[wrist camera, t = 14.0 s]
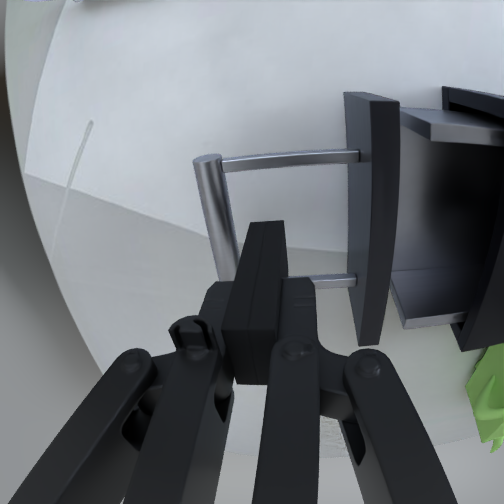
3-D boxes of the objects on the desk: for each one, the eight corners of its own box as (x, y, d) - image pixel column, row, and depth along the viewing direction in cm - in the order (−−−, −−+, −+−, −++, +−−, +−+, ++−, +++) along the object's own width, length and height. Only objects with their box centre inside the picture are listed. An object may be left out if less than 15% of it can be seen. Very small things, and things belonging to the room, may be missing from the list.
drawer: (237, 288, 22) (222, 351, 17) (202, 105, 16) (163, 121, 11) (509, 268, 19) (544, 316, 14) (537, 113, 12) (594, 137, 7)
